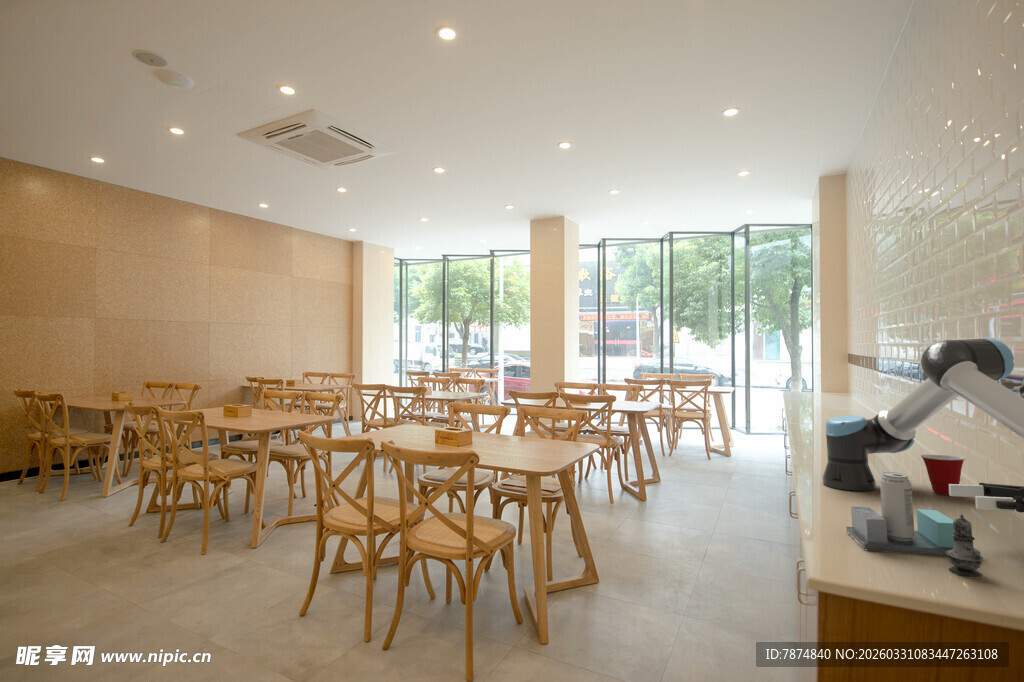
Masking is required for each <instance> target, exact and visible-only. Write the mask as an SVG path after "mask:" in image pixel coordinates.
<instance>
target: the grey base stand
mask: <svg viewBox="0 0 1024 682" xmlns="http://www.w3.org/2000/svg"><path fill="white" fill-rule="evenodd" d="M850 514H851V526H846V527H845V528H846V533H847V532H849V533H850V534H851V535H852V536H853V537H854V538H855V539H856V540H857V541H858V542H859V543H860V544H861V545H862V547H863V548H864V549H867V550H866V551H868V550H875V551H874V552H883V551H886V552H887V551H888V552H887V553H897V552H900V553H899V554H901V553H902V554H912V553H913V554H915V555H928V556H929V555H930V556H939V557H941V556H942V557H944V556H945V557H948V555H947V554H946V551H948V550H952V549H953V548H946V547H939V546H937V545H936V544H934V543H933V542H932V541H930V540H929V539H927V538H926V537H924V536H923V535H922V534H920V533H919V532H918V530H914V537H913V538H912V540H911V541H898V540H893V539H890V538H888V537H887V524H886V519H884V518H883V517H882V515H880V514H879V513H878V512H876V510H873V509H872V507H869V506H854V505H853V506H850ZM862 547H861V548H862ZM863 548H862V549H863ZM973 548H974V551H975V553H976V554H978V555H980V556H981V551H980V550H978V549H977V548H975V547H974V546H973ZM864 549H863V550H864ZM886 552H885V553H886Z"/></svg>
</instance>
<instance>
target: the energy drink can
mask: <svg viewBox="0 0 1024 682" xmlns="http://www.w3.org/2000/svg"><path fill="white" fill-rule="evenodd" d="M908 476H909V475H907V474H905V473H901V472H893V471H892V472H891V471H890V472H889V471H888V472H882V476H881V477H880V479H879V485H880V486H879V487H880V488H879V489H880V502H881V503H880V505H881V516H882V517H883V518H884V519H886V524H887V537H888V538H890V539H893V540H898V541H911V540H912V538H913V537H914V531H915V521H914V519H915V518H914V505H913V504H914V503H913V489H912V488H913V487H912V485H913V484H912V481H910V479H909V477H908Z"/></svg>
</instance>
